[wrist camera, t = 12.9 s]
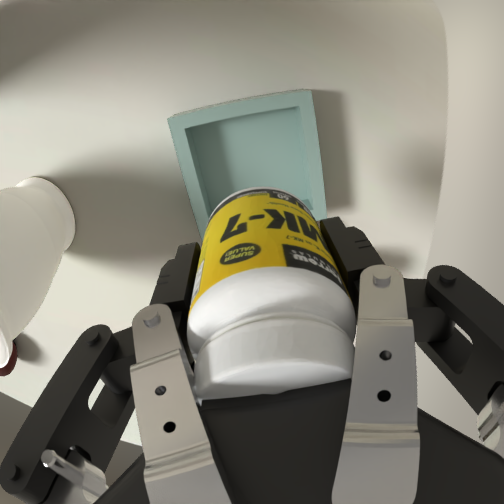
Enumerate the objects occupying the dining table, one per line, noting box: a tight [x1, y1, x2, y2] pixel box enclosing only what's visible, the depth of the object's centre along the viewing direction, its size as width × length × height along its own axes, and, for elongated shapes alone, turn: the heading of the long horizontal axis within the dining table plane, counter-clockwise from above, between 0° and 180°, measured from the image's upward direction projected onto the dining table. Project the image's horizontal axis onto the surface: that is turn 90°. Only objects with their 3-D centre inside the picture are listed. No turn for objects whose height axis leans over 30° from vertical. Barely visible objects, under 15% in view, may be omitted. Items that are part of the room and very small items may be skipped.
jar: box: [0, 177, 75, 368], centre depth 19 cm, size 11×10×15 cm
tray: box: [167, 89, 327, 242], centre depth 23 cm, size 10×10×3 cm
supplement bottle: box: [187, 187, 356, 406], centre depth 10 cm, size 5×5×8 cm
